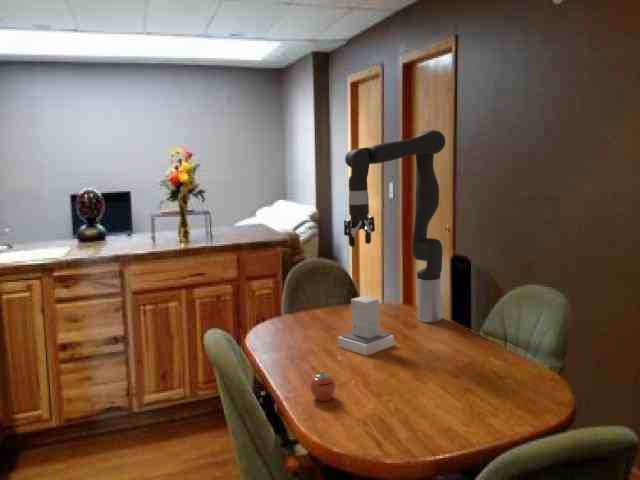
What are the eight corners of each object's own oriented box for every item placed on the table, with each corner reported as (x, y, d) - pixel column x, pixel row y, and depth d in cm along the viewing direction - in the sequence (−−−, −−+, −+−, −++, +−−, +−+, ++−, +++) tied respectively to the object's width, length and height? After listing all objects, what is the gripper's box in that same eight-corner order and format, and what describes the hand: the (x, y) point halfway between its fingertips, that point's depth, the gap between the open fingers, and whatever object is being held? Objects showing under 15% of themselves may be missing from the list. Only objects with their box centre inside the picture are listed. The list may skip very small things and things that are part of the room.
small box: (380, 335, 203) (379, 299, 201) (367, 339, 199) (366, 302, 197) (364, 330, 209) (363, 295, 207) (351, 334, 205) (350, 298, 203)
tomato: (314, 405, 157) (312, 377, 156) (307, 395, 164) (305, 368, 163) (339, 401, 159) (338, 373, 158) (331, 391, 166) (330, 364, 165)
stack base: (365, 337, 214) (365, 326, 213) (393, 345, 204) (393, 334, 203) (338, 346, 205) (337, 335, 204) (366, 355, 195) (366, 344, 194)
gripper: (364, 200, 225) (366, 241, 227) (338, 204, 216) (339, 246, 218) (378, 201, 219) (380, 243, 222) (352, 204, 210) (353, 248, 212)
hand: (360, 245), depth 220 cm, fingers open, 8 cm apart
